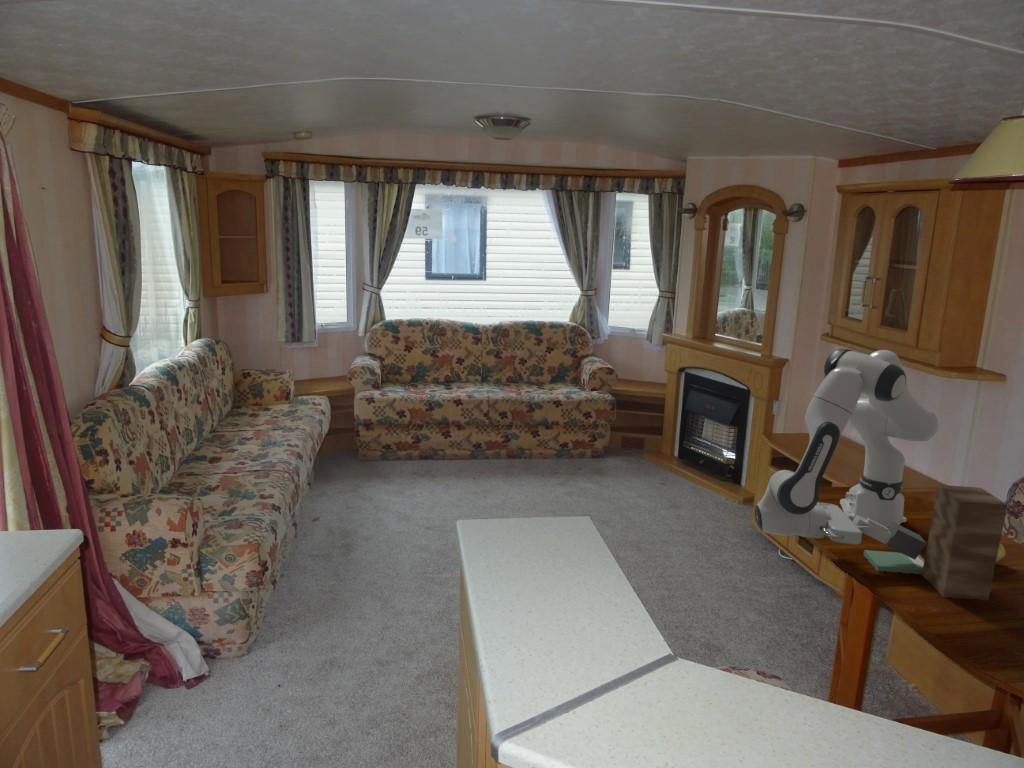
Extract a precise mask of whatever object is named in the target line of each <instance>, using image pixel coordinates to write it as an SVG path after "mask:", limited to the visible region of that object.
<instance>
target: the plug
mask: <svg viewBox="0 0 1024 768" xmlns="http://www.w3.org/2000/svg"><path fill="white" fill-rule="evenodd" d="M852 522H853V523H854V524H855V525H858V526H863V525H869V526H870V527H871V532H870V533H863V534H864V535H866V536H868V537H870V538H873V539H874V540H876V541H878V542H880V543H883V544H885V545H886V547H888V548H891V549H892V550H895V552H896V551H897V553H902V554H904V555H906V556H908V557H910V558H912V559H914V560H915V559H916V558H917V557H918V555H920V554H921V552H922V550H924V548H925V547H926V546H927V542H926V541H925V539H923V537H922V536H921V535H920V534H918V533H916V532H914V531H912V530H910V529H908V528H906V527H904V526H902V525H901V524H900V525H898V524H896V523H894V522H892V524H891V525H890V527H885V526H883V525H881V524H879V523H877V522H875V521H873V520H871V519H868V518H867V520H866V519H864V518H862V517H860V516H858V515H856V517H855V518H854V520H853V521H852Z"/></svg>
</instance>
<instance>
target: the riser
mask: <svg viewBox="0 0 1024 768" xmlns="http://www.w3.org/2000/svg"><path fill="white" fill-rule="evenodd" d="M934 498H935V499H934V504H933V509H932V510H933V511H932V514H931V515H932V516H931V522H930V528H929V532H928V538H927V542H926V549H925V555H924V565H923V571H922V574H921V576H922V577H923V578H924V579H925V580H926V581H927V582H928V581H929V582H928V583H929V584H930V583H931V584H932V585H931V584H930V585H931V587H933V586H934V587H935V588H936V589H937V590H938V591H939V592H938V591H937V590H936V589H935V588H934V587H933V588H934V589H935V590H936V591H937V592H938V594H939V595H941V596H942V597H943V598H949V597H952V598H951V599H961V598H965V599H964V600H974V599H978V600H977V601H987V600H988V601H989V598H990V594H991V593H990V592H991V588H992V583H993V578H994V574H995V568H996V563H997V562H996V559H997V554H998V549H999V544H1000V543H1001V540H1002V539H1001V538H1002V533H1003V528H1004V524H1005V518H1006V514H1007V508H1008V503H1005V502H1004V501H1002V500H1001V499H999V498H998V497H996V496H995V495H993V494H992V493H991V492H988V491H987V490H985V489H984V488H982V487H977V486H961V485H960V486H959V485H947V484H946V485H943V484H937V488H936V494H935V497H934ZM979 599H981V600H979Z"/></svg>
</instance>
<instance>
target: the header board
mask: <svg viewBox="0 0 1024 768" xmlns="http://www.w3.org/2000/svg"><path fill="white" fill-rule="evenodd" d="M863 557H865V559H866V560H867V559H868V560H867V561H868V562H869V563H870V564H871V565H872V567H873V566H874V567H875V568H874V567H873V568H874V569H875V570H876V572H884V571H887V572H886V573H888V572H889V573H897V572H902V573H901V574H910V573H913V575H922V571H923V565H924V560H925V558H923V557H922V556H921V555H920V554H919V555H918V557H917V558H916V559H915V560H914V559H912V558H910V557H908V556H906V555H904V554H902V553H900V552H898V551H897V552H896V551H882V550H871V549H870V550H868V549H864V550H863Z"/></svg>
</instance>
